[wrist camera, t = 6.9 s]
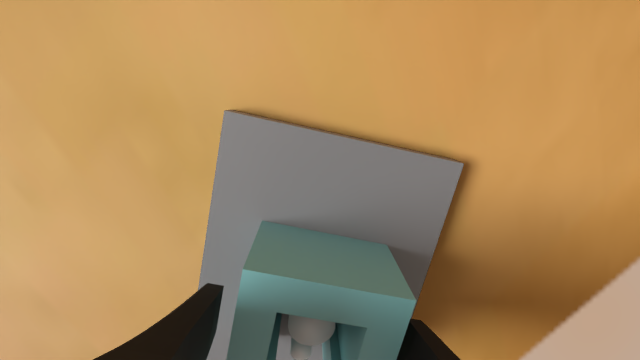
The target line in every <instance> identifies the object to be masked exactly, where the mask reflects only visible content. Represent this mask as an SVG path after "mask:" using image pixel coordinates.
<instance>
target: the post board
mask: <svg viewBox="0 0 640 360" xmlns="http://www.w3.org/2000/svg"><path fill="white" fill-rule="evenodd" d="M463 165H464V164H463V163H461V162H459V161H456V160H454V159H450V158H445V157H441V156H437V155H432V154H428V153H423V152H419V151H414V150H410V149H405V148H401V147H396V146H392V145H387V144H383V143H378V142H374V141H369V140H365V139H360V138H356V137H351V136H347V135H342V134H338V133H333V132H329V131H324V130H320V129H315V128H311V127H306V126H302V125H297V124H293V123H288V122H284V121H279V120H275V119H270V118H266V117H261V116H257V115H252V114H248V113H243V112H239V111H234V110H225V111H224V117H223V124H222V131H221V137H220V144H219V151H218V158H217V165H216V172H215V178H214V185H213V192H212V199H211V206H210V212H209V219H208V226H207V233H206V240H205V247H204V253H203V260H202V267H201V274H200V281H199V287H198V290H199V289H200V288H202V287H203V286H204V285H205V284H207V283H211V284H217V285H222V286H224V288H223V294H222V300H221V306H220V312H219V318H218V324H217V330H216V334H215V337H214V339H213V342H212V345H211V348H210V351H209V354H208V357H207V359H206V360H226V358H227V353H228V347H229V342H230V336H231V331H232V325H233V320H234V314H235V309H236V303H237V298H238V292H239V287H240V281H241V276H242V270H243V267H244V265H245V262H246V260H247V257H248V255H249V252H250V250H251V247H252V244H253V242H254V239H255V237H256V234H257V232H258V229H259V227H260V224H261V222H262V221H267V222H272V223H277V224H282V225H287V226H293V227H298V228H303V229H308V230H313V231H318V232H323V233H328V234H334V235H339V236H344V237H349V238H354V239H359V240H364V241H369V242H375V243H380V244H385V245H387V246H388V248H389V250H390V251H391V253H392V255H393V257H394V259H395V261H396V263H397V265H398V267H399V269H400V270H401V272H402V274H403V276H404V278H405V280H406V282H407V284H408V286H409V288H410V290H411V291H412V293H413V295H414V297H415V299H416V303H415V306H414V309H413V312H414V310H415V307H416V304H417V301H418V298H419V295H420V292H421V289H422V286H423V283H424V280H425V277H426V274H427V271H428V268H429V265H430V262H431V259H432V257H433V254H434V251H435V248H436V245H437V242H438V239H439V236H440V233H441V230H442V227H443V224H444V221H445V218H446V215H447V212H448V209H449V207H450V204H451V201H452V198H453V195H454V192H455V189H456V186H457V183H458V180H459V177H460V174H461V171H462V168H463ZM413 312H412V315H413ZM412 315H411V318H412ZM411 318H410V319H411ZM334 330H335V322H330V321H324V320H318V319H312V318H307V317H301V316H295V315H289V314H283V313H282V317H281V324H280V332H279V339H278V347H277V354H276V360H323V352H322V343H324V342H326V341H327V340H328V339H329V338H330V337H331V336H332V335H333V333H334Z"/></svg>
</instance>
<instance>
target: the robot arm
mask: <svg viewBox="0 0 640 360" xmlns="http://www.w3.org/2000/svg"><path fill="white" fill-rule="evenodd" d="M223 288H224V286H222V285H217V284H211V283H207V284H205V285H204V286H203V287H202V288H200V289H199V290H198V291H197V292H196V293H195V294H193V295H192V296H191V297H190V298H189V299H187V300H186V301H185V302H184V303H183V304H181V305H180V306H179V307H177V308H176V309H175V310H174V311H172V312H171V313H170V314H168V315H167V316H166V317H164V318H163V319H161V320H160V321H159V322H157V323H156V324H154V325H153V326H151V327H150V328H148V329H147V330H145V331H144V332H142V333H141V334H139V335H138V336H136V337H134V338H133V339H131V340H129V341H128V342H126V343H124V344H122V345H121V346H119V347H117V348H115V349H113V350H111V351H109V352H107V353H105V354H103V355H101V356H99V357H97V358H95V359H93V360H206V359H207V357H208V354H209V351H210V348H211V345H212V342H213V339H214V337H215V334H216V330H217V324H218V318H219V312H220V306H221V300H222V294H223ZM396 360H460V359H459V358H458V357H457V356H456V355H455V354H454V353H453V352H452V351H451V350H450V349H449V348H448V347H447V346H446V345H445V344H444V343H443V342H442V341H441V339H440V338H439V337H438V336H437V335H436V334H435V333H434V332H433V331H432V330H431V329H430V328H429V327H428V326H426V325H425V324H424V323H423V322H422V321H421V320H415V319H410V321H409V324H408V327H407V330H406V333H405V336H404V339H403V342H402V345H401V348H400V351H399V354H398V356H397V359H396Z"/></svg>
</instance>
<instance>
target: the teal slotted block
mask: <svg viewBox="0 0 640 360" xmlns="http://www.w3.org/2000/svg"><path fill="white" fill-rule="evenodd" d="M415 303H416V299H415V297H414V295H413V293H412V291H411V290H410V288H409V286H408V284H407V282H406V280H405V278H404V276H403V274H402V272H401V270H400V269H399V267H398V265H397V263H396V261H395V259H394V257H393V255H392V253H391V251H390V250H389V248H388V246H387V245H385V244H380V243H375V242H369V241H364V240H359V239H354V238H349V237H344V236H339V235H334V234H328V233H323V232H318V231H313V230H308V229H303V228H298V227H293V226H287V225H282V224H277V223H272V222H267V221H262V222H261V224H260V227H259V229H258V232H257V234H256V237H255V239H254V242H253V244H252V247H251V250H250V252H249V255H248V257H247V260H246V262H245V265H244V267H243V270H242V276H241V281H240V287H239V292H238V298H237V303H236V309H235V314H234V320H233V325H232V331H231V336H230V342H229V347H228V353H227V358H226V360H276V354H277V347H278V339H279V332H280V324H281V317H282V313H283V314H289V315H295V316H301V317H307V318H312V319H318V320H324V321H330V322H335V330H334V333H333V335H332V336H331V337H330V338H329V339H328V340H327V341H326V342H324V343H322V352H323V360H396V359H397V356H398V354H399V351H400V348H401V345H402V342H403V339H404V336H405V333H406V330H407V327H408V324H409V321H410V318H411V315H412V312H413V309H414V306H415Z"/></svg>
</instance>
